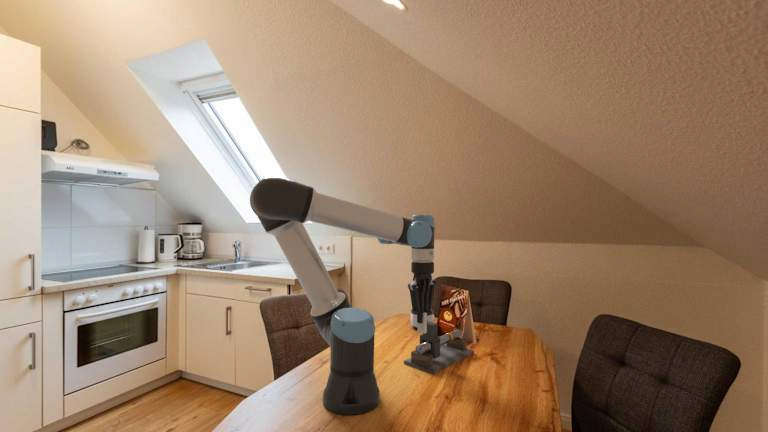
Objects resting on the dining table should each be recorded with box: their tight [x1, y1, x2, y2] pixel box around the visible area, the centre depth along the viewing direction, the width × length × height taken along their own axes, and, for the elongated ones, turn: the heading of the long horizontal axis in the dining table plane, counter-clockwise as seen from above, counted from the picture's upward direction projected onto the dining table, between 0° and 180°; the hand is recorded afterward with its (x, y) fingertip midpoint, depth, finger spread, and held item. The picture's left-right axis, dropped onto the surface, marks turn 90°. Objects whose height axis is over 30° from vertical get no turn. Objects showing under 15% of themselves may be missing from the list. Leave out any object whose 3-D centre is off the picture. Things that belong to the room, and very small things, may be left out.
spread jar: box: [410, 308, 436, 330], centre depth 167 cm, size 12×11×12 cm
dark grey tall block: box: [419, 321, 440, 359], centre depth 125 cm, size 3×6×11 cm, turn 48°
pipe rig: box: [403, 337, 475, 375], centre depth 130 cm, size 26×12×4 cm, turn 138°
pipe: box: [415, 329, 463, 355], centre depth 130 cm, size 25×3×3 cm, turn 138°
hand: (422, 332), depth 121 cm, fingers closed
